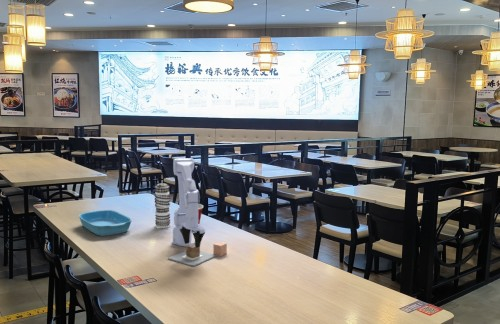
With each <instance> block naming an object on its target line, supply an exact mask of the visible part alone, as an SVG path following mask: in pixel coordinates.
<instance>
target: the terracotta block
mask: <svg viewBox="0 0 500 324" xmlns="http://www.w3.org/2000/svg"><path fill="white" fill-rule="evenodd" d="M227 247H228V244H227V243H226V242H223V241H217V242H215V243H214V244H213V249H212V250H213V253H212V254H214V255H216V256H219V257H222V256H223V255H227Z"/></svg>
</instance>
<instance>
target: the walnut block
mask: <svg viewBox="0 0 500 324" xmlns="http://www.w3.org/2000/svg"><path fill="white" fill-rule="evenodd" d="M200 247H201V246H200ZM200 247H197V248H196V247H195V243H193V244H190V245H186V246H185V251H186V256H188V257H190V258H195V257H198V256H200V251H201V248H200Z"/></svg>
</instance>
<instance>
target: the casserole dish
mask: <svg viewBox="0 0 500 324" xmlns="http://www.w3.org/2000/svg"><path fill="white" fill-rule="evenodd" d="M78 218H79V220H80V223H81V225H82V227H84V228H85V229H87V230H88V231H90V232H91V233H93V234H95V235H97V236H98V237H99V236H100V237H106V236H113V235H118V234H123V233H125V232H127V231H128V230H129V229H130V227H131V223H132V220H133V219H132V218H130V217H128V216H127V215H125V214H122V213H120V212H119V211H116V210H113V209H103V210H102V209H99V210H90V211H87V212H83V213H80V214H79V215H78Z"/></svg>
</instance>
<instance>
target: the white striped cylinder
mask: <svg viewBox="0 0 500 324" xmlns="http://www.w3.org/2000/svg"><path fill="white" fill-rule="evenodd" d="M154 188H155V194H154V203H155V204H154V206H155V207H154V208H155V215H154V216H155V220H154V222H155V227H156V228H158V229H166V228H170V227H171V214H170V207H171V200H170V199H171V194H170V185H169V184H168V183H164V182H163V183H158V184H156V186H154Z"/></svg>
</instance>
